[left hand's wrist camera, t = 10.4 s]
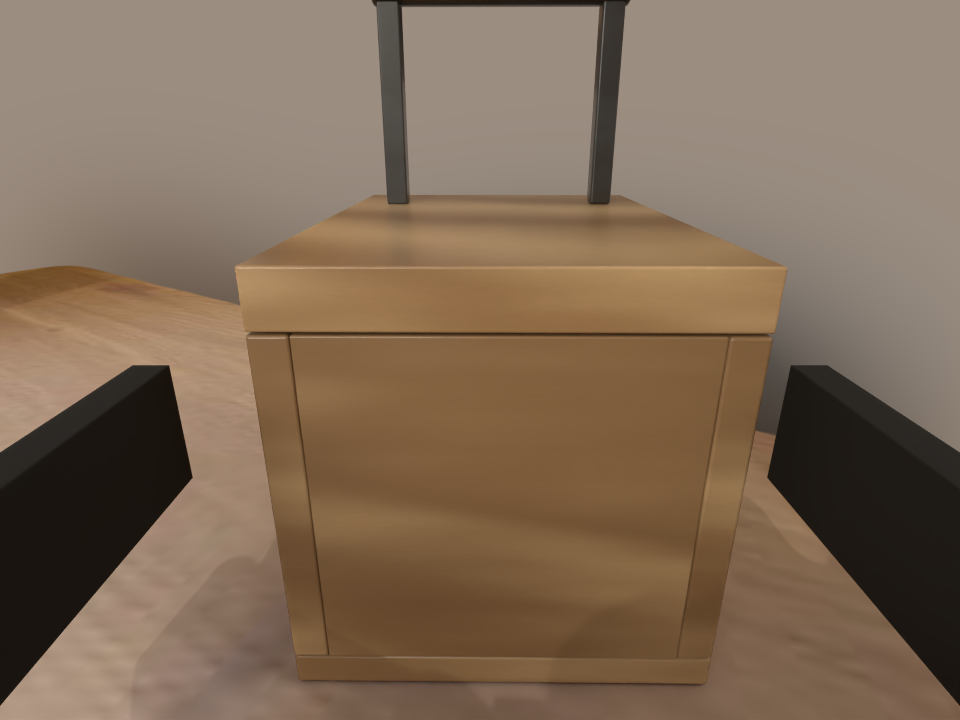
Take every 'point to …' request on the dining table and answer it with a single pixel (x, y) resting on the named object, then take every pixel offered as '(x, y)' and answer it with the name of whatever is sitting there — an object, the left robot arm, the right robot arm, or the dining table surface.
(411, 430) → the chest
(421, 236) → the lid
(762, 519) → the dining table surface
